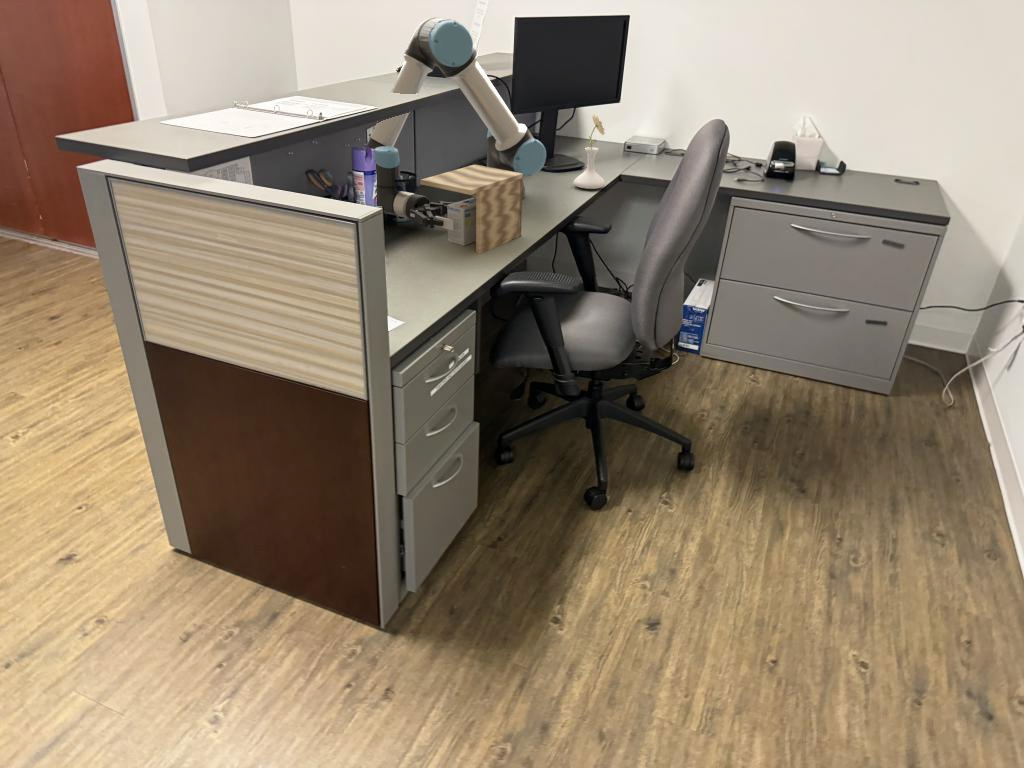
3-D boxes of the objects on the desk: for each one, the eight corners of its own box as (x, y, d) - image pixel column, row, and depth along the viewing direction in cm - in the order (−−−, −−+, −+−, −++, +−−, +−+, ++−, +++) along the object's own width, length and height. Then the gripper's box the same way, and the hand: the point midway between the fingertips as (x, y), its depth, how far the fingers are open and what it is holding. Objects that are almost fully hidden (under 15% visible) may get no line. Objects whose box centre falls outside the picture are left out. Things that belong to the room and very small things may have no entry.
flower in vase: (603, 192, 268) (610, 119, 256) (572, 190, 269) (576, 117, 257) (605, 183, 279) (611, 112, 267) (575, 181, 281) (579, 111, 269)
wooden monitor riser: (474, 225, 230) (474, 164, 221) (521, 235, 221) (522, 173, 213) (422, 244, 212) (420, 179, 203) (470, 257, 204) (470, 190, 195)
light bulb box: (471, 232, 223) (471, 196, 218) (489, 237, 219) (489, 201, 214) (446, 241, 216) (446, 203, 210) (464, 246, 212) (463, 208, 207)
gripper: (439, 210, 235) (494, 222, 225) (384, 228, 217) (440, 243, 207) (439, 186, 232) (494, 197, 221) (382, 202, 214) (440, 216, 203)
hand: (468, 219), depth 214 cm, fingers open, 13 cm apart
